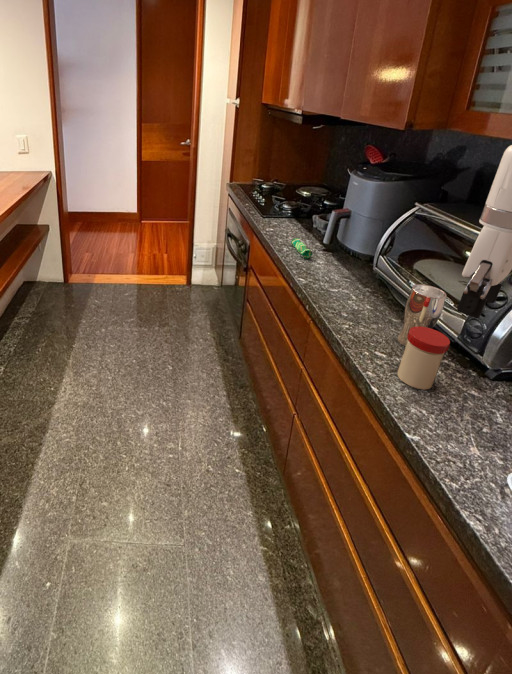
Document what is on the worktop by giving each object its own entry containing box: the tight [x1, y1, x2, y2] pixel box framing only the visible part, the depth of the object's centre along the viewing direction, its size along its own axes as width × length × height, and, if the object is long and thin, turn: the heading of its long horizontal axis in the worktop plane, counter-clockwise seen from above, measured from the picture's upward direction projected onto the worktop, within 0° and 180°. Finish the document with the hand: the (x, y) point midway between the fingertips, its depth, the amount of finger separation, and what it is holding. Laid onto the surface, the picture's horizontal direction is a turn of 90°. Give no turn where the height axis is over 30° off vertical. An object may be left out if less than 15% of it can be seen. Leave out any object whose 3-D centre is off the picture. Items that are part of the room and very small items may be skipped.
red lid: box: [407, 326, 451, 354], centre depth 81 cm, size 7×7×2 cm
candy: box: [290, 237, 313, 260], centre depth 148 cm, size 12×3×4 cm
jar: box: [396, 341, 445, 390], centre depth 83 cm, size 6×6×11 cm
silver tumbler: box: [396, 283, 447, 348], centre depth 94 cm, size 7×7×15 cm
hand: (475, 306), depth 72 cm, fingers open, 8 cm apart
